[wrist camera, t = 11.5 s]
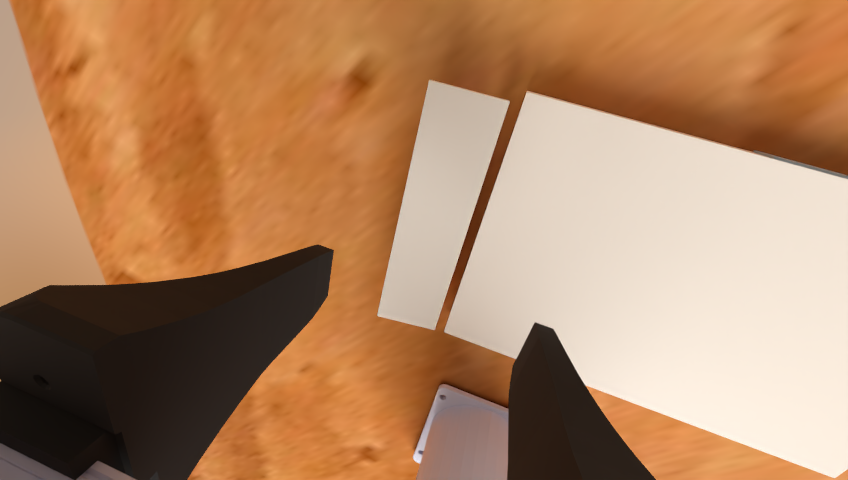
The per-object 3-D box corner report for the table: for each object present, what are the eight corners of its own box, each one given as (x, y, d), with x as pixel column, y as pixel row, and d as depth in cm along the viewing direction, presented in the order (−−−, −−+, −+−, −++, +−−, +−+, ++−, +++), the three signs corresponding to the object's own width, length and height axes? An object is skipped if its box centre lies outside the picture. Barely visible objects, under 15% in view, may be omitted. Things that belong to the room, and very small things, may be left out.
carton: (808, 444, 20) (834, 478, 19) (449, 312, 23) (443, 332, 22) (1069, 234, 14) (1146, 257, 12) (527, 88, 17) (527, 89, 15)
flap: (509, 101, 15) (503, 96, 17) (429, 80, 15) (433, 77, 17) (434, 330, 21) (436, 305, 23) (377, 316, 21) (384, 292, 23)
